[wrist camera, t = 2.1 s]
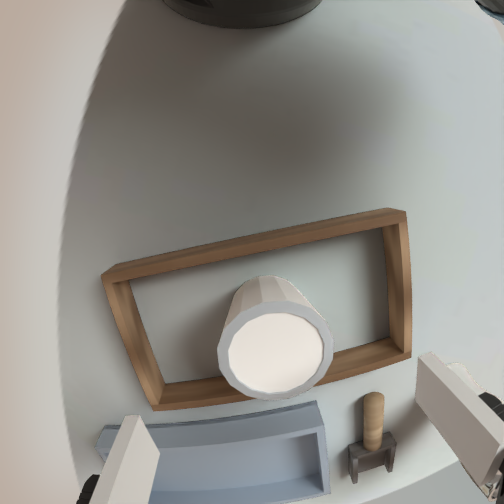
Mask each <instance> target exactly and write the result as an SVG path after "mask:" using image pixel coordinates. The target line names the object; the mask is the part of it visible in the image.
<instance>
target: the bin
mask: <svg viewBox="0 0 504 504" xmlns="http://www.w3.org/2000/svg"><path fill="white" fill-rule="evenodd" d="M120 427H121V426H105V427H104V429H103V431H102V433H101V435H100V437H99V439H98V441H97V443H96V445H95V449H96V451H97V452H98V453H99V455H100V456H101V458H102V459H103V461H104V462H106V460H107V458H108V455H109V453H110V450H111V448H112V446H113V443H114V441H115V439H116V436H117V434H118V432H119V429H120ZM145 427H146V428H147V430H148V432H149V434H150V436H151V438H152V440H153V441H154V443H155V445H156V447H157V449H158V450H159V452H160V456H159V460H158V464H157V468H156V472H155V476H154V480H153V484H152V489H151V493H150V497H149V501H148V504H284V503H289V502H295V501H300V500H305V499H310V498H314V497H319V496H323V495H327V494H331V491H330V479H329V467H328V457H327V446H326V437H325V427H324V423H323V420H322V417H321V414H320V411H319V408H318V405H317V402H316V400H315V401H311V402H307V403H303V404H298V405H294V406H289V407H284V408H279V409H274V410H269V411H263V412H258V413H252V414H246V415H239V416H233V417H226V418H218V419H210V420H202V421H192V422H181V423H169V424H152V425H145Z"/></svg>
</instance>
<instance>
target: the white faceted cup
mask: <svg viewBox="0 0 504 504" xmlns="http://www.w3.org/2000/svg"><path fill="white" fill-rule="evenodd" d="M333 351H334V338H333V336H332V333H331V331H330V328H329V326H328V324H327V321H326V320H325V319H324V318H323V317H322V316H321V315H320V314H319V312H318V311H317V310H316V309H315V308H314V307H313V306H312V305H311V304H310V302H309V301H308V300H307V299H306V298H305V297H304V296H303V295H302V294H301V292H300V291H299V290H298V289H297V288H296V287H295V286H293V285H292V284H291V283H290V282H289V281H288V280H286V279H283V278H280V277H277V276H274V275H268V276H258V277H255V278H253V279H251V280H249V281H247V282H245V283H244V284H243V285H242V286H241V287H240V288H239V289H238V290H237V291H236V292H235V295H234V298H233V300H232V303H231V306H230V309H229V312H228V315H227V319H226V322H225V325H224V328H223V331H222V334H221V338H220V341H219V344H218V347H217V354H218V362H219V369H220V370H221V372H222V373H223V375H224V377H225V378H226V380H227V381H228V383H229V384H230V385H231V386H233V387H234V388H236V389H237V390H239V391H240V392H242V393H243V394H245V395H246V396H250V397H254V398H258V399H262V400H266V401H268V400H280V399H289V398H291V397H294V396H296V395H298V394H301V393H303V392H306V391H308V390H309V389H310V388H311V387H313V386H314V385H315V384H316V383H317V382H318V381H319V380H320V379H322V378H323V377H324V375H325V373H326V371H327V369H328V368H329V366H330V364H331V362H332V360H333Z"/></svg>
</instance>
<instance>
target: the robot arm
mask: <svg viewBox="0 0 504 504" xmlns="http://www.w3.org/2000/svg"><path fill="white" fill-rule="evenodd" d="M163 1H164V2H165V3H166V4H167V5H168V6H169V7H170V8H172V9H173V10H174V11H176V12H178V13H179V14H181V15H183V16H185V17H187V18H189V19H192V20H195V21H197V22H201V23H204V24H208V25H213V26H219V27H227V28H257V27H266V26H271V25H276V24H280V23H284V22H287V21H290V20H293V19H295V18H298V17H300V16H302V15H304V14H306V13H307V12H309V11H310V10H312V9H313V8H314V7H316V6H317V5H318V4H319V3H320V2H321V1H322V0H163ZM475 2H476V3H477V4H478V5H479V7H480V8H481V9H482V10H483V11H484V12H485V13H487V14H488V15H489V16H491V17H493V18H495V19H497V20H499V21H500V22H501V23H502V24H503V25H504V0H475ZM415 401H416V402H417V404H418V405H419V406H420V407H421V409H422V410H423V411H424V413H425V414H426V415H427V417H428V418H429V419H430V421H431V422H432V423H433V425H434V426H435V427H436V429H437V430H438V431H439V433H440V434H441V435H442V437H443V438H444V439H445V441H446V442H447V443H448V445H449V446H450V447H451V449H452V450H453V452H454V453H455V454H456V456H457V457H458V458H459V460H460V461H461V463H462V464H463V465H464V467H465V468H466V469H467V471H468V472H469V474H470V475H471V476H472V478H473V479H474V481H475V482H476V484H477V485H478V486H479V487H481V486H483V485H484V484H486V483H488V482H489V481H491V480H492V479H494V477H495V476H496V474H497V472H498V470H499V471H500V472H501V473H502V476H501V478H500V479H499V481H498V483H497V485H496V487H495V489H497V488H498V487H499V490H498V495H497V500H496V504H504V404H502V402H501V401H500V400H499V399H498V398H497V397H496V396H494V395H492V394H489V393H487V392H484V393H482V394H480V395H478V396H477V395H476V394H475V393H474V392H473V391H472V390H471V389H470V388H469V387H468V386H467V385H466V384H465V383H464V382H463V381H462V380H461V379H460V378H459V377H458V376H457V375H456V374H455V373H454V372H453V371H452V370H450V369H449V368H448V367H447V366H446V365H445V364H444V363H443V362H442V361H441V360H440V359H439V358H438V357H437V356H436V355H435V354H433V353H432V352H429V353H426V354H424V355H421V356H418V367H417V381H416V393H415ZM159 456H160V452H159V450H158V449H157V447H156V445H155V443H154V441H153V440H152V438H151V436H150V434H149V432H148V430H147V428H146V427H145V425H144V423H143V421H142V419H141V417H140V415H128V416H125V418H124V420H123V422H122V425H121V427H120V429H119V432H118V434H117V436H116V439H115V441H114V443H113V446H112V448H111V450H110V453H109V455H108V458H107V460H106V462H105V465H104V467H103V470H102V472H101V475H94V474H93V475H92V476H91V477H90V478H89V479H88V480H87V481H86V482H85V484H84V486H83V489H82V493H80V496H79V500H78V501H77V503H76V504H148V501H149V497H150V493H151V489H152V484H153V480H154V476H155V472H156V468H157V464H158V460H159Z"/></svg>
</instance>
